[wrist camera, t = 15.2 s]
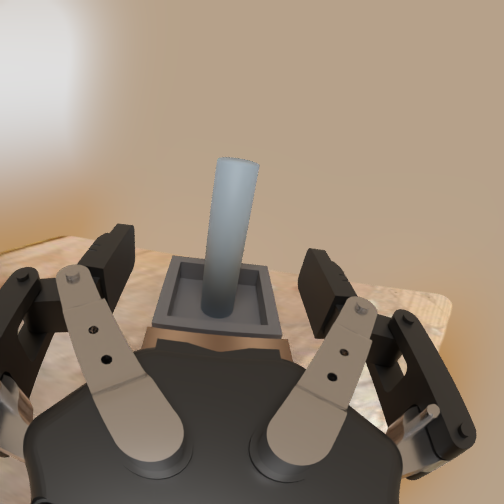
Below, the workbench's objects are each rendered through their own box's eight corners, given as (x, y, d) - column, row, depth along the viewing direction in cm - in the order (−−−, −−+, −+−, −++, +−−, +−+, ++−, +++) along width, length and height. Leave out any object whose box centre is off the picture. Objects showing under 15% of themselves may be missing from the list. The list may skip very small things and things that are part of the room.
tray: (154, 344, 24) (151, 322, 23) (172, 275, 35) (172, 255, 33) (275, 354, 26) (282, 334, 25) (262, 285, 37) (267, 266, 35)
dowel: (199, 316, 28) (216, 163, 21) (202, 295, 31) (218, 155, 24) (233, 320, 29) (261, 169, 21) (232, 299, 32) (257, 161, 24)
